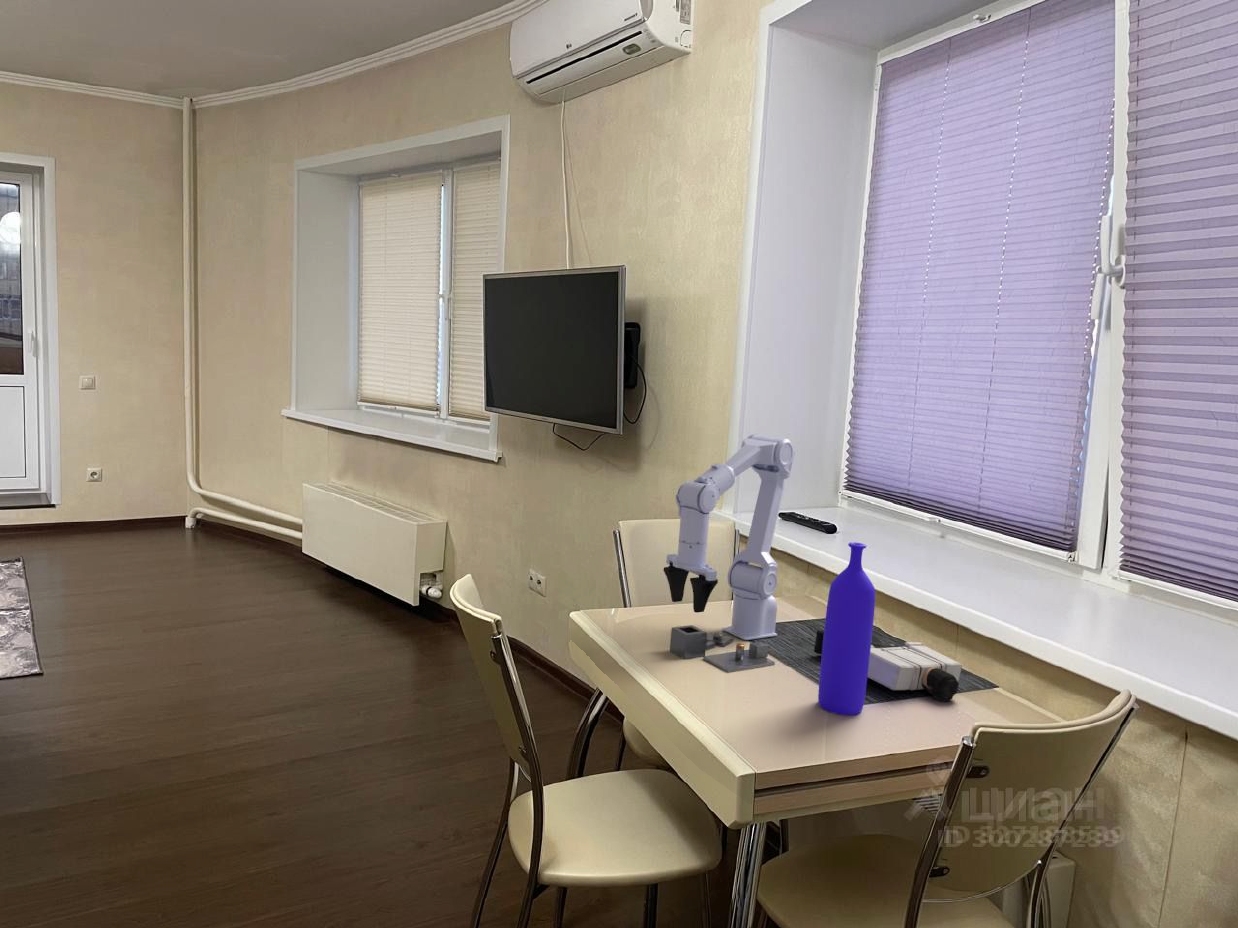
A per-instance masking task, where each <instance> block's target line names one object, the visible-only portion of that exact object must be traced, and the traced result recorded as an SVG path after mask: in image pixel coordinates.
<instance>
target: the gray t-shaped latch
mask: <svg viewBox="0 0 1238 928" xmlns="http://www.w3.org/2000/svg"><path fill="white" fill-rule="evenodd" d="M732 642H734V638H733V637H732V636H727V635H724V634H723V633H722V632H720V631H715V632H711V633H709V634H707V641H706V651H709V650H712V649H714V648H715V647H716V646H718V647H723V648H725V647H726V646H727V645H729V644H731V643H732Z"/></svg>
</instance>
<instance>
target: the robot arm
mask: <svg viewBox="0 0 1238 928" xmlns="http://www.w3.org/2000/svg"><path fill="white" fill-rule="evenodd" d="M795 454H796V452H795V449H794V446H793V444H792V442H791V440H790V439H788V438H777V437H772V436H764V435H758V434H754V433H752V434H751V433H750V434H749V435H748V436H747V437H746V438H744V439H743V440H742V443H741V447H740V449H738V450H737V452H735V453H734V454H733V455H732V456H731V457H730V458H728V460H727V461H726V462H724V463H721V462H720V463H719V462H715V463H713V464H711V466H710V468H708V469H707V470H706V471H705V472H703V473H702V474H700V475H699V476H697V478H695V479H694V480H693V481H692V480H687V481H685V482H684V483H682V484H681V485H680V486H679V487H678V490H677V494H675V503H676V504H677V507H678V512H677V513H678V516H679V518H680V522H679V531H678V532H679V534H678V548H677V554H676V553H671V554H666V562H665V564H667V565H668V566H665V567H663V572H664V574H665V576H666V579H667V583H668V587H669V592H670V597H671V602H673V603H679V602H682V601H683V598H684V593H685V586H686V581H687V579H688V576H689V573H692V574H694V575H696V577H690V578H689V581H690V584H691V588H692V595H693V596H692V597H693V599H692V600H693V601H692V604H693V605H692V608H693V612H694V613H697V614H698V613H704V612H705V609H706V606H707V604H708V601H709V599H710V596H711V594H712V592H713V590H714V589H715V588H716V587H717V585H718V583H719V582H718V581H719V580H718V578H717V575H718V571H717V570H716V569H714V568H713V567H712V566H710V564H708V563H707V562H706V561H707V560H706V559H707V548H708V536H709V535H708V534H709V525H710V524H709V523H710V513H711V512H713V511H714V510H715V508H716V506H717V504H718V503H717V502H718V501H719V500H720V497H721V496H722V495H723V494H725V493H727V491H729V490H730V489H731V488H732V487H733V486H734V485H735V482H736V477H737V476H739V475H741V474H742V473H743V472H745V471H747V470H748V469H749V468H751V469H752V470H753V471H754V472H755V473H756V474H758V477H759V478H760V480H761V481H760V485H759V490H758V495H757V499H756V503H755V507H754V511H753V516H752V519H751V520H752V521H751V524H750V529H749V533H748V538H747V542H746V546H745V549H743V550H741V551H740V552H738V553H737V554H735V555H734V558H733V562H732V563H731V565H730V567H729V568H728V572H727V583H728V586H729V588H731V593H733V594H734V595H733V605H732V614H731V615H732V618H731V626H727V627H723V628H722V630H723V632H726V633H728V634H731V635H732V636H734V637H736V638H740V639H742V640H743V641H749V640H750V641H751V640H756V639H764V638H769V637H771V638H772V637H777V636H778V633H776V623H777V614H778V613H777V612H778V604H777V601H776V598H775V597H774V595H773V593H774V592H775V591H776V589H777V585H778V568H779V565H778V563H777V562H776V561H775V560H774V558H773V557H772V556H771V554H770V552H771V548H772V544H773V539H774V536H775V535H774V534H775V530H776V527H777V521H778V518H779V512H780V508H781V504H782V499H783V496H784V491H785V487H786V483H787V479H789V478H790V475H791V471H792V468H793V463H794V458H795ZM750 563H751V564H750ZM753 564H755V565H753ZM758 565H759V566H758ZM697 576H698V577H697Z"/></svg>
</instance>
